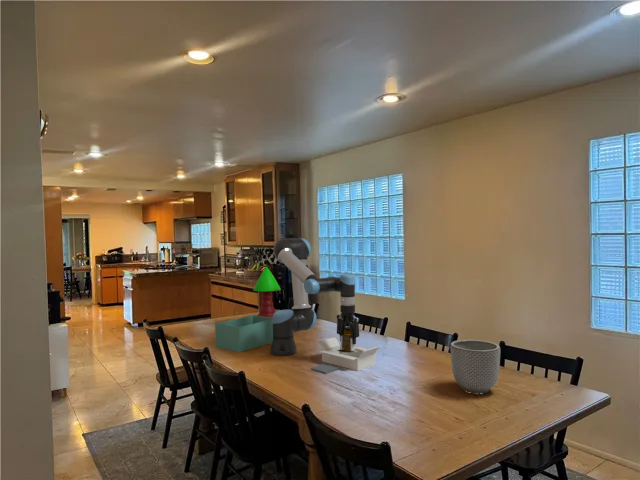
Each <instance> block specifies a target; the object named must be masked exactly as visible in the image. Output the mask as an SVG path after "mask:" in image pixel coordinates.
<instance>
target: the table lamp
mask: <svg viewBox="0 0 640 480" xmlns="http://www.w3.org/2000/svg"><path fill="white" fill-rule="evenodd" d="M252 289H253V290H252V291H253V292H256V293H257V292H258V293H259V292H261V299H262V300H261V307H260V308H259V312H258V314H257V315H256V316H261V317H269V318H273V314H274V313H275V312H276V309H275V307H274V302H273V292H278V291H281V290H282V289H281V286H280V285H279V283H278V281H277V280H276V278H275V276H274V275H273V273H272V272H271V270H270V269H269V268H268V266H265V267H264V270H263V271H262V272H261V274H260V276H259V277H258V279H257V281H256V284H255V285H254V287H253V288H252Z"/></svg>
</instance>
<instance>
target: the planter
mask: <svg viewBox="0 0 640 480" xmlns="http://www.w3.org/2000/svg"><path fill="white" fill-rule="evenodd" d="M449 349H450V358H451V359H450V361H451V362H450V363H451V369H452V370H451V371H452V375H453V377H454V380H455V382H456V383H457V384H458V386H459V387H461V389H462V390H463V392H465V391H467V392H471V393H478V394H477V395H481V394H480V393H486V394H488V393H489V392H490V390H491V389H493V387H495V386H496V384H497V383H498V379H499V376H500V375H499V374H500V366H501V347H500V345H499V344H497V343H495V342H492V341H487V340H481V339H457V340H454V341H452V342H450V348H449ZM467 392H466V393H467ZM487 392H488V393H487ZM471 393H470V394H471Z"/></svg>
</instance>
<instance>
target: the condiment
mask: <svg viewBox="0 0 640 480" xmlns="http://www.w3.org/2000/svg"><path fill="white" fill-rule="evenodd" d="M351 337H352V336H351V332H350V328H349V326H346V327H345V328H344V333H343V349H341V350H337V351H339V352H341V353H344V354H346V353H352V352H357V351H356V350H354V351H351V342H350V338H351Z"/></svg>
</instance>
